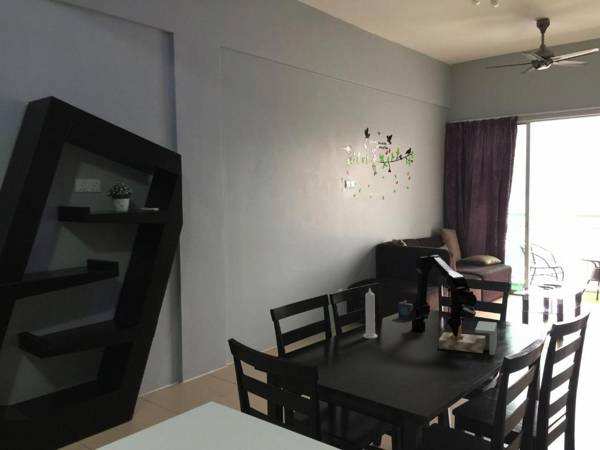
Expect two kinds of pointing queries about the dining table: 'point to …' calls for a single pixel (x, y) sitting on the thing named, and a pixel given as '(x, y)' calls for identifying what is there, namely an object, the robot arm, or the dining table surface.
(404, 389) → the dining table surface
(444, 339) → the socket block
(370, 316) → the candle
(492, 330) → the upright pale grey block
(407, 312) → the flask
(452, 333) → the peg
